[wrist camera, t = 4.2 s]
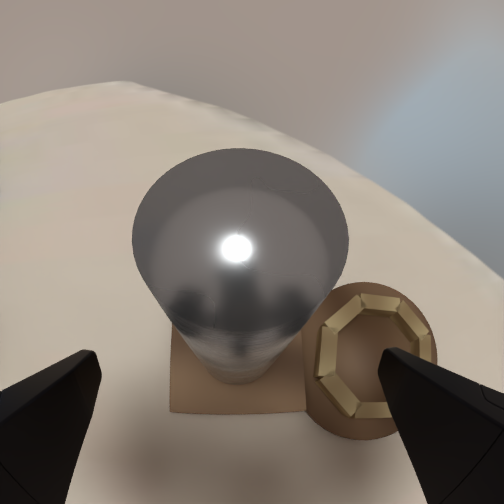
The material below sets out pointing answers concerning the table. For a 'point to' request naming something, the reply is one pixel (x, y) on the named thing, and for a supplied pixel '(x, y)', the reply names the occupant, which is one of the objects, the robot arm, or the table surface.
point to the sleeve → (239, 255)
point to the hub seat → (358, 356)
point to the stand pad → (236, 396)
